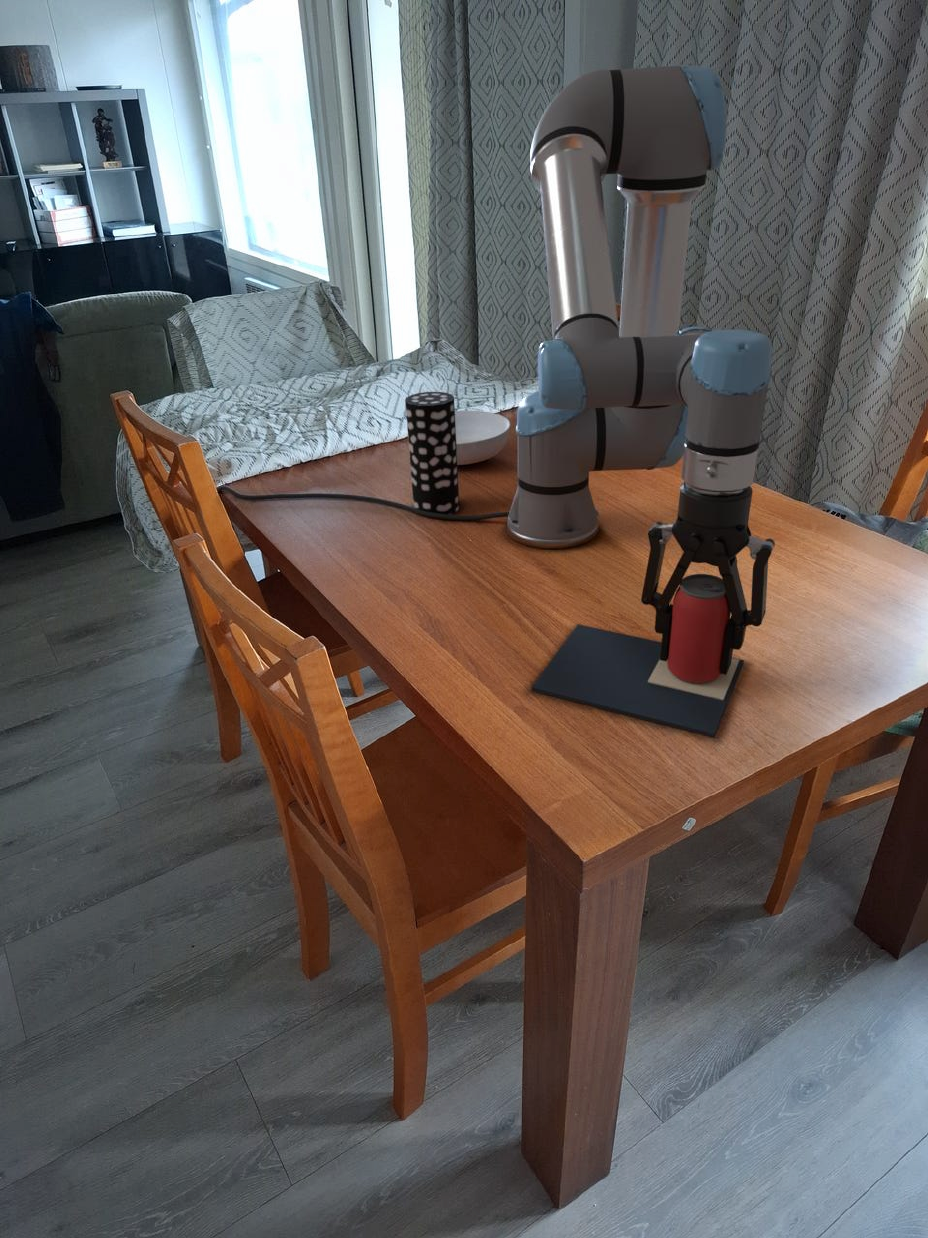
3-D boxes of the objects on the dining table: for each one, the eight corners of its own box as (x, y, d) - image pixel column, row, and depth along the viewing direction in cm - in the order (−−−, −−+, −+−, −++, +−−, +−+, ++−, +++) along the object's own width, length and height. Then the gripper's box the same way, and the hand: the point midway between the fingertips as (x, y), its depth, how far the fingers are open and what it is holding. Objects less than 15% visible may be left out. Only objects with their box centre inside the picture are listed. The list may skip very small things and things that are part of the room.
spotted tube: (406, 514, 148) (396, 403, 138) (425, 496, 155) (417, 390, 144) (448, 519, 145) (442, 407, 135) (466, 501, 152) (461, 393, 141)
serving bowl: (408, 445, 180) (405, 414, 177) (503, 437, 182) (502, 406, 178) (413, 479, 162) (411, 446, 159) (518, 471, 164) (518, 437, 160)
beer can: (712, 692, 97) (724, 603, 91) (658, 676, 100) (666, 590, 94) (729, 664, 102) (741, 578, 96) (677, 650, 105) (686, 566, 99)
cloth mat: (531, 691, 100) (531, 685, 100) (577, 627, 112) (577, 622, 112) (714, 738, 91) (715, 732, 91) (743, 663, 103) (744, 658, 103)
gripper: (618, 483, 90) (608, 659, 102) (807, 509, 82) (773, 697, 94) (638, 461, 96) (627, 630, 107) (817, 483, 87) (784, 663, 99)
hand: (695, 661), depth 100 cm, fingers closed on beer can, 6 cm apart
